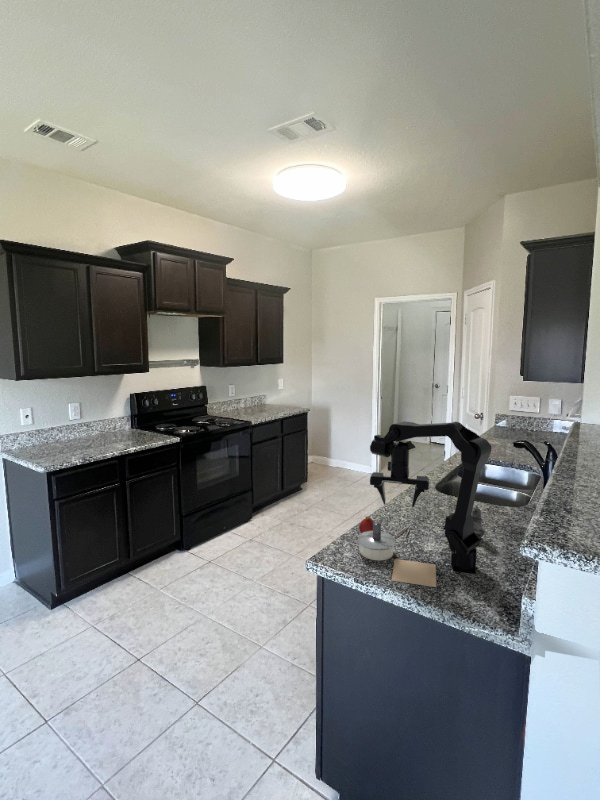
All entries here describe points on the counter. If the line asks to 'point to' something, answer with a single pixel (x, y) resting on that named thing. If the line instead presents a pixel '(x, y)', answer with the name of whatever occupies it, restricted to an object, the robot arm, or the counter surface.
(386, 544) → the lid
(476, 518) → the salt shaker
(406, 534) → the tweezers
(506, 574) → the counter surface
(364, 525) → the onion
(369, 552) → the bowl
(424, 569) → the mat
